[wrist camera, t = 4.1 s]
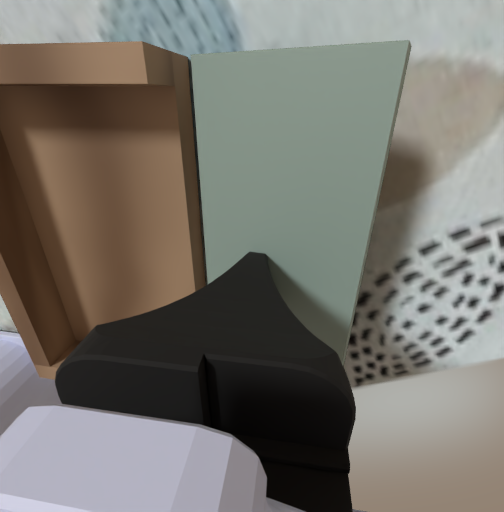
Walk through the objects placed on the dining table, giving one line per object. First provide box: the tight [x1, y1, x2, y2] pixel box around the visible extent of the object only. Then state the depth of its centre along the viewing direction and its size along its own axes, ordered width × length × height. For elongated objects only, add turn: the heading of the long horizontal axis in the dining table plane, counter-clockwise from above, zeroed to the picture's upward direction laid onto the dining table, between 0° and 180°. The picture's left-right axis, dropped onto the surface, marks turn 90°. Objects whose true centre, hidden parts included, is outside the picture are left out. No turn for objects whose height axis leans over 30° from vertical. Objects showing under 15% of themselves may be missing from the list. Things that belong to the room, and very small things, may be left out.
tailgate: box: [191, 40, 411, 367], centre depth 12 cm, size 1×15×6 cm
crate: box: [0, 41, 206, 380], centre depth 14 cm, size 9×15×4 cm, turn 0°
